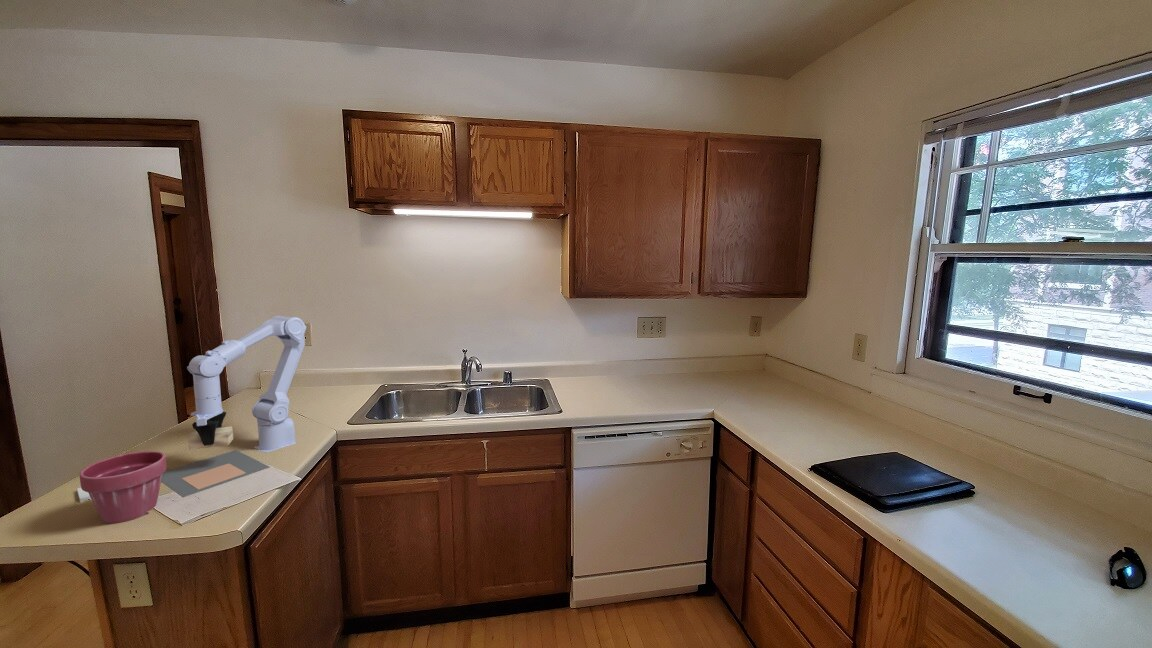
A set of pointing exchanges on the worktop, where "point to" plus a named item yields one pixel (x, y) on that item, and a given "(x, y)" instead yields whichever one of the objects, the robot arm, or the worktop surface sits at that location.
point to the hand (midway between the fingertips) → (211, 441)
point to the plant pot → (124, 484)
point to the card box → (221, 439)
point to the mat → (210, 472)
